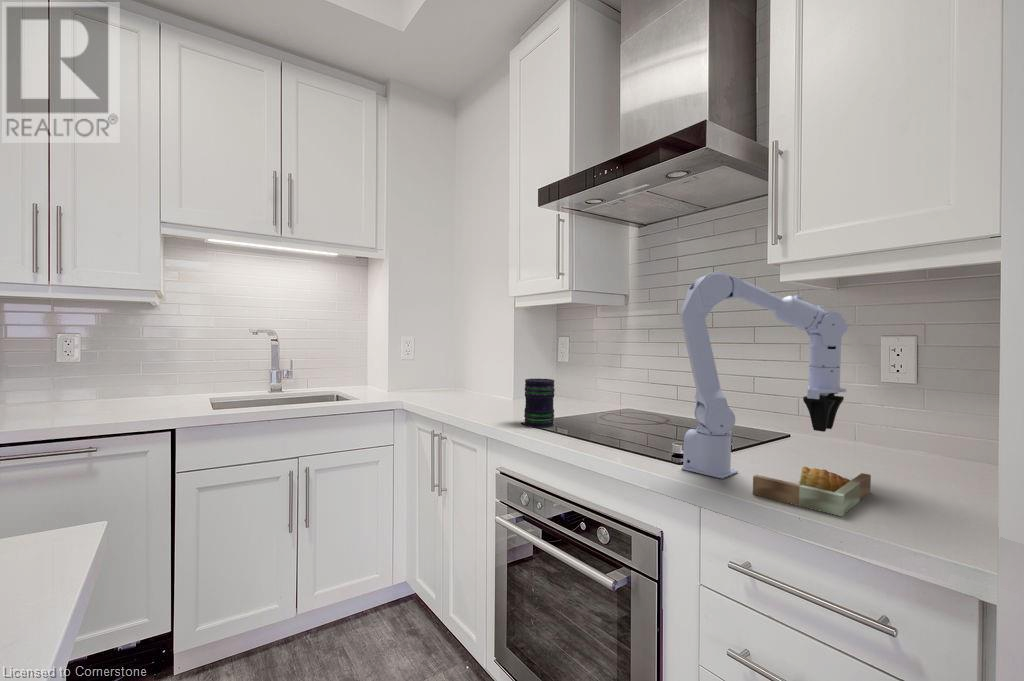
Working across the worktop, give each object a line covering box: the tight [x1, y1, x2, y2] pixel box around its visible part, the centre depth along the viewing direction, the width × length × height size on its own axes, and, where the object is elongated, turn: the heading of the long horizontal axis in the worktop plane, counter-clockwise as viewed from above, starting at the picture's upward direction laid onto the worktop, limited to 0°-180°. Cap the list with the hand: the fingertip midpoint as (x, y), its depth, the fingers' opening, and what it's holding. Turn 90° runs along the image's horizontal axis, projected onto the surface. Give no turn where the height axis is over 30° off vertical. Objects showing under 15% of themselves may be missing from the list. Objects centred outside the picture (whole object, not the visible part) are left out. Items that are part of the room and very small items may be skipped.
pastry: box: [798, 466, 851, 492], centre depth 97 cm, size 9×7×4 cm
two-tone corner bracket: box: [752, 472, 872, 517], centre depth 93 cm, size 14×20×4 cm
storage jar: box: [523, 378, 556, 429], centre depth 158 cm, size 10×10×15 cm
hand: (822, 429), depth 104 cm, fingers open, 4 cm apart
